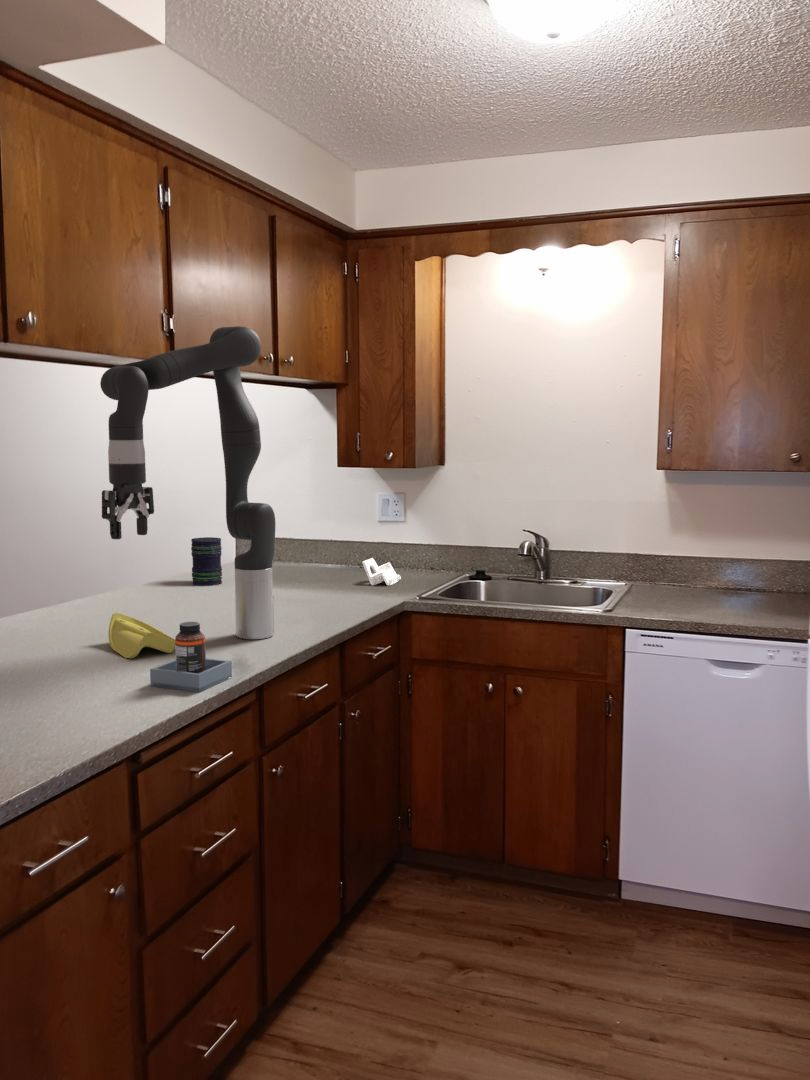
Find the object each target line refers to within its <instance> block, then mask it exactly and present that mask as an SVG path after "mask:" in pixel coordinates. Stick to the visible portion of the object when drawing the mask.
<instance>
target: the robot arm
mask: <svg viewBox="0 0 810 1080" xmlns="http://www.w3.org/2000/svg"><path fill="white" fill-rule="evenodd" d="M261 352H262V342H261V339H260V337H259V334H257V332H255V330H253V329H252V328H250V327H246V326H241V325H240V326H224V327H219V328H216V329H215V330H213V332H212V333H211V336H210V338H209V342H208V343H205V344H204V343H203V344H200V345H196V346H190V347H185V348H180V349H175V350H170V351H165V352H163V353H160V354H156V355H153V356H151V357H149V358H146V359H143V360H140V361H135V362H130V363H129V362H128V363H125V364H121V365H116V366H112V367H110V368H108V369H107V370H106V371H105V372H103V374H102V376H101V378H100V389H101V391H102V392H103V394H104V395H105V396H106V397H107V398H108V399H111V400H114V401H117V404H116V405H117V406H116V411H114V412H112V413H111V414H110V415H109V417H108V452H107V454H108V457H107V458H108V480H109V483H110V484H111V485H112V490H107V489H106V490H105V489H103V490H102V491H101V518H102V519H103V520H107V521H108V522H109V535H110V537H111V539H112V540H121V539H122V538H123V537H122V521H121V520H122V517H123V516H124V514H125V513H127V510H132V511H133V512H134V514H135V515H136V534H137V535H138V536H146V535H148V528H149V527H148V518H149V517H150V515H154V514H155V506H154V505H155V504H154V489H153V487H151V486H143V484H146V482H147V475H146V469H147V468H146V451H145V450H146V449H145V444H144V442H145V441H144V424H143V423H144V421H143V420H144V416H145V412H146V408H147V403H148V398H149V391H153V390H154V391H155V390H159V389H160V390H161V389H164V388H165V389H166V388H167V387H170V386H174V385H176V384H179V383H181V382H184V381H188V380H190V379H194V378H196V377H199V376H201V375H205V374H209V373H211V372H212V373H213V378H214V384H215V388H216V389H215V390H216V394H217V395H216V396H217V404H218V412H219V419H220V420H219V421H220V422H219V423H220V433H221V434H220V436H221V446H222V454H223V461H224V475H225V519H226V521H225V522H226V526H227V527H226V528H227V530H228V533H229V534H230V536H231V537H232V538H234V539H235V540H236V539H237V540H245V541H246V540H247V541H250V546H249V547H250V548H249V549H248V550H247V551H246V552H243V553H240V554H238V555H236V556H235V558H234V597H235V598H234V604H235V607H234V608H235V613H234V614H235V637H236V636H237V637H236V638H238V637H239V639H242V638H243V640H262V639H268V638H271V637H273V635H274V633H275V597H274V595H273V593H274V592H273V590H274V589H273V560H274V556H275V547H276V546H275V544H276V543H275V542H276V516H275V511H274V509H273V507H272V506H271V505H270V504H268V503H263V502H249V500H248V499H249V498H248V483H249V480H250V476H251V474H252V471H253V469H254V468H255V465H256V462H257V461H258V459H259V456H260V454H261V450H262V441H261V429H260V422H259V419H258V416H257V413H256V412H255V409H254V408H253V405H252V404H251V401H250V400H249V398H248V396H247V394H246V392H245V390H244V387H243V383H242V377H241V376H242V375H241V367H246V366H250V365H252V364H253V363H255V362H256V361H257V360H258V358H259V357H260V354H261ZM147 504H148V506H147ZM108 509H109V510H108Z"/></svg>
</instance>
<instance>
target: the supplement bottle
mask: <svg viewBox="0 0 810 1080" xmlns="http://www.w3.org/2000/svg"><path fill="white" fill-rule="evenodd" d="M200 629H201V624H200V622H198V621H185V622H180V623H179V632H178V634H176V636H175V638H174V639H175V647H174V649H175V659H176V671H181V672H190V673H201V672H203V671H205V670H206V658H207V657H206V656H207V655H206V653H207V652H206V651H207V650H206V637H205V634H204V633H203V632H201V630H200Z"/></svg>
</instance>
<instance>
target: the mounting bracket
mask: <svg viewBox="0 0 810 1080" xmlns="http://www.w3.org/2000/svg"><path fill="white" fill-rule="evenodd" d="M362 566H363V568H364V570H365V574H366V575H367V578H368V581H369V583H370V585H371V586H376V585H379V584H380V583H383V582H385V584H386V586H387V587H388V586H392V585H394V584H396V583H397V582H398V583H399V581H400V580H401V579H402V577H401V575H400V574H397V572H396V571H395V569H394V568H393V566H392V564H391V562H390V561H388V562H387V563H384V564H381V565H378V564H377V562H376V560H375V559H374V557H370V558H369V559H365V560H362ZM371 569H372V571H373V572H374V573H372V571H371Z"/></svg>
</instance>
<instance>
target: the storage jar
mask: <svg viewBox="0 0 810 1080" xmlns="http://www.w3.org/2000/svg"><path fill="white" fill-rule="evenodd" d="M191 556H192V567H191V577H192V579H191V580H192V582H191V583H192V585H193V586H197V587H213V585H215V586H220V585H222V583H223V581H222V579H223V577H222V576H223V567H222V558H221V557H222V538H221V537H211V536H210V537H206V536H205V537H195V538H191ZM219 584H220V585H219Z"/></svg>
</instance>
